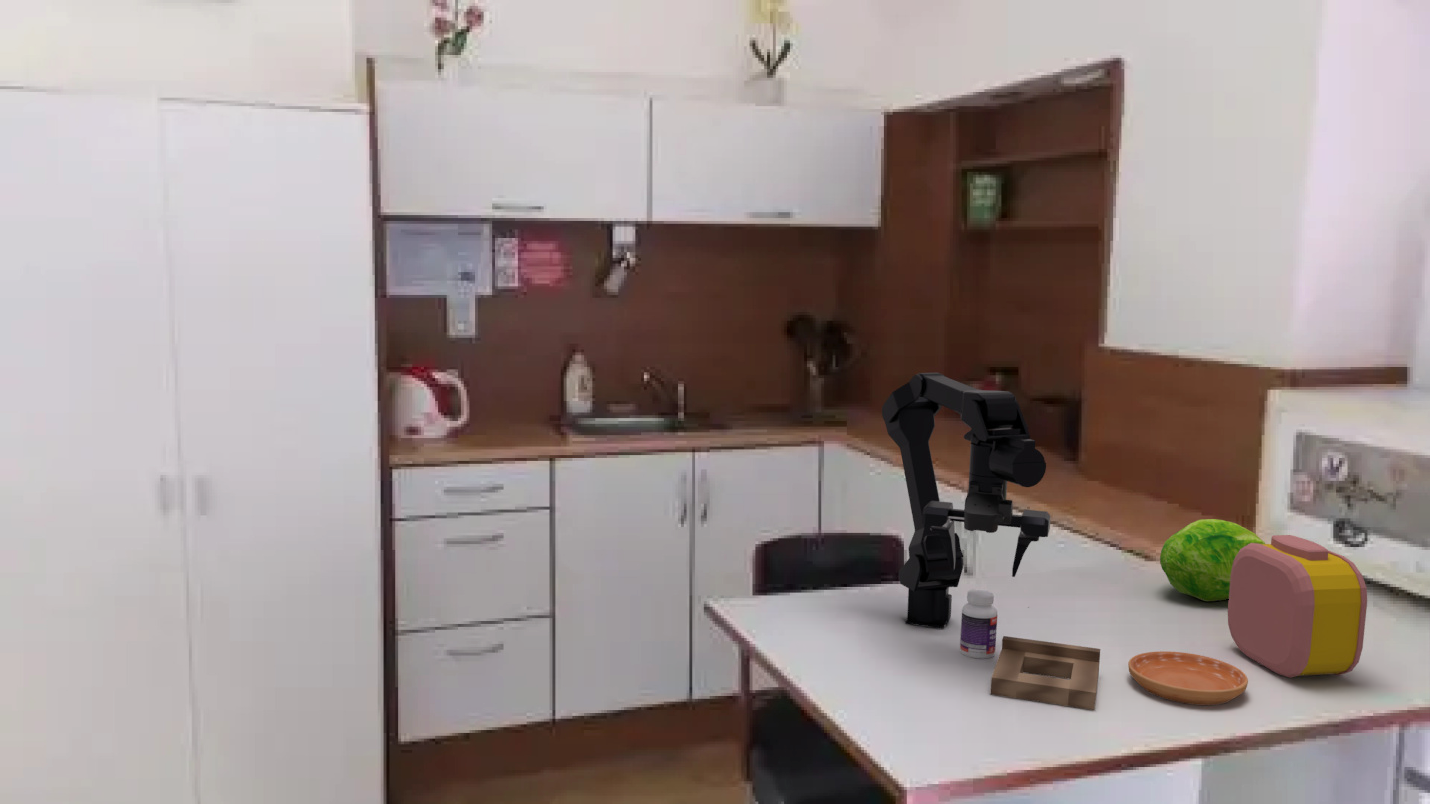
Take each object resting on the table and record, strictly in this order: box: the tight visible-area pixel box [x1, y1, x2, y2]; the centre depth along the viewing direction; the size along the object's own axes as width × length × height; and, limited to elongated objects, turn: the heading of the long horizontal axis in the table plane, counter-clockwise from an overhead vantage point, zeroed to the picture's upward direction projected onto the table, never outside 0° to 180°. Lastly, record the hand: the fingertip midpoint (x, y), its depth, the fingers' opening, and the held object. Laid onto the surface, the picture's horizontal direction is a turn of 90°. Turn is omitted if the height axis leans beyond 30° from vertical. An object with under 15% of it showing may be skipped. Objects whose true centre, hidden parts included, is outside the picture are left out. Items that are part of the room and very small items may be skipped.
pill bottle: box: [959, 588, 998, 659], centre depth 175 cm, size 5×5×10 cm
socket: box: [990, 635, 1101, 711], centre depth 163 cm, size 14×14×4 cm
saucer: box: [1127, 650, 1249, 706], centre depth 163 cm, size 16×16×3 cm
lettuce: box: [1159, 518, 1266, 602], centre depth 206 cm, size 15×23×16 cm
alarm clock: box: [1227, 534, 1368, 679], centre depth 172 cm, size 18×11×19 cm, turn 9°
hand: (983, 572), depth 174 cm, fingers open, 9 cm apart
